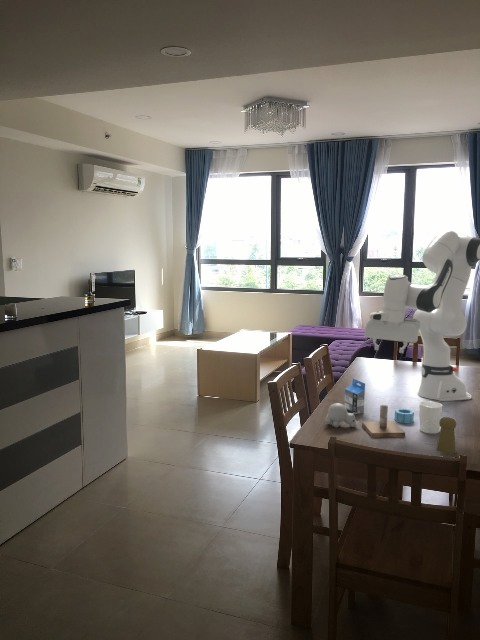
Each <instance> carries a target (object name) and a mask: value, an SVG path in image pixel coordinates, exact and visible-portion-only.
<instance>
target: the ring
mask: <svg viewBox="0 0 480 640" xmlns="http://www.w3.org/2000/svg"><path fill="white" fill-rule="evenodd" d="M414 419H415V411H413V409H407V408H396V409H395V410H394V420H395V422H397V423H401V424H412V423H413V422H414V421H415V420H414Z"/></svg>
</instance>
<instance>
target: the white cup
mask: <svg viewBox="0 0 480 640" xmlns="http://www.w3.org/2000/svg"><path fill="white" fill-rule="evenodd" d="M418 413H419V415H418V416H419V431H421V432H423V433H425V434H433V435H434V434H438V433H440V429H441V427H440V424H439V422H440V419H441V418H442V413H443V403H440V402H437V401H432V400H423V401H419V412H418Z"/></svg>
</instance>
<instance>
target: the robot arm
mask: <svg viewBox="0 0 480 640" xmlns="http://www.w3.org/2000/svg"><path fill="white" fill-rule="evenodd" d="M479 261H480V238H479V237H475V236H474V237H473V236H469V235H465V234H463V235H462V234H458V233H457V232H455V231H454V230H450V229H449V230H443V231H441V232H440V233H439V234H438V235H436V236H435V237H434V238H433V239H432V240H431V242H430V243H429V244H428V245H427V247H426V248H425V249H424V251H423V254H422V262H423V264H424V266H425V267H426V268H427V270H428V271H430V272H432V273H434V274H435V276H434V278H433V280H432V283H430V284H427V285H426V284H425V285H421V284H416V283H412V282H411V281H410V280H409V278H408V276H407V275H405V274H392V275H389V276H387V278H386V281H385V284H384V285H385V286H384V291H383V304H382V307H381V310H377V311H373V312H370V313H369V319H368V320H367V321H366V324H365V328H364V334H363V336H364V338H369V339H372V343H373V345H374V351H379V347H380V345H379V344H377V343H376V342H377V339H378V340H385V341H393V342H402V343H403V346H402V347H399V349H398V351H399V353H400V354H404V351H405V349H406V347H407V346H408V343H411V344H415V343H417V342H418V340H419V338H418V337H419V336H420V337H421V341H422V346H423V359H422V360H423V361H422V362H423V363H422V364H421V380H420V385H419V389H418V392H417V395H418V396H420V397H422V398H425V399H430V400H436V401H440V402H451V401H463V400H471V399H472V394H470V393H469V392H468V391H467V386H466V383H465V382H464V381H463V380H462V379H460V378H459V376H457V375H456V374H454V373H457V372H458V370H459V368H458V367H457V366H452V365H451V363H450V362H451V347H450V345H449V344H448V343H447V342H446V341H445V339H444V336H446V337H457V336H458V337H459V336H461V335H463V333H465V331H466V329H467V326H468V325H467V323H468V322H467V319H466V316H465V315H464V314H463V311H462V301H463V297H464V294H465V291H466V288H467V286H468V283H469V280H470V277H471V272H472V266H474V265H475V264H476V263H479ZM406 309H412V310H415V312H414V313H413V316H412V318H409V317H406Z"/></svg>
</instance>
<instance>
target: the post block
mask: <svg viewBox="0 0 480 640" xmlns="http://www.w3.org/2000/svg"><path fill="white" fill-rule="evenodd" d="M379 407H380V408H379V421H362V422H361V426H362V428H363V429H364V430H365V432H367V433H368V434H369V436H370V437H371V438H397V437H399V438H402V437H404V438H405V437H406V432H405V431H404V430H403V428H401V427H400V425H398V424H397V423H396V421H393V420H389V421H388V412H389V411H388V409H389V408H388V407H389V406H388V404H380V406H379Z"/></svg>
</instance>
